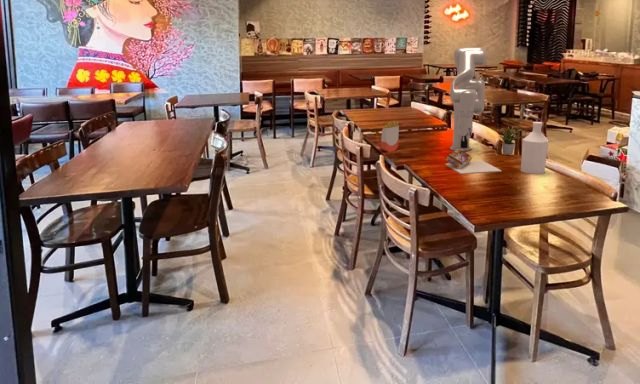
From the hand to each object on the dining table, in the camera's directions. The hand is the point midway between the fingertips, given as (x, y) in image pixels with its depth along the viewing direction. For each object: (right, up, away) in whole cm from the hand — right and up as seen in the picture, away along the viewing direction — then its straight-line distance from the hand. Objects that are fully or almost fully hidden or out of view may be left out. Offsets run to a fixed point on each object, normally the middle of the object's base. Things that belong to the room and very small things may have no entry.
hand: (463, 147), depth 279 cm
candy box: (0, -4, 0) cm, 4 cm away
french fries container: (-36, +1, +34) cm, 49 cm away
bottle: (+31, -14, -16) cm, 37 cm away
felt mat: (+2, -12, -9) cm, 15 cm away
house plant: (+32, -2, +20) cm, 37 cm away
